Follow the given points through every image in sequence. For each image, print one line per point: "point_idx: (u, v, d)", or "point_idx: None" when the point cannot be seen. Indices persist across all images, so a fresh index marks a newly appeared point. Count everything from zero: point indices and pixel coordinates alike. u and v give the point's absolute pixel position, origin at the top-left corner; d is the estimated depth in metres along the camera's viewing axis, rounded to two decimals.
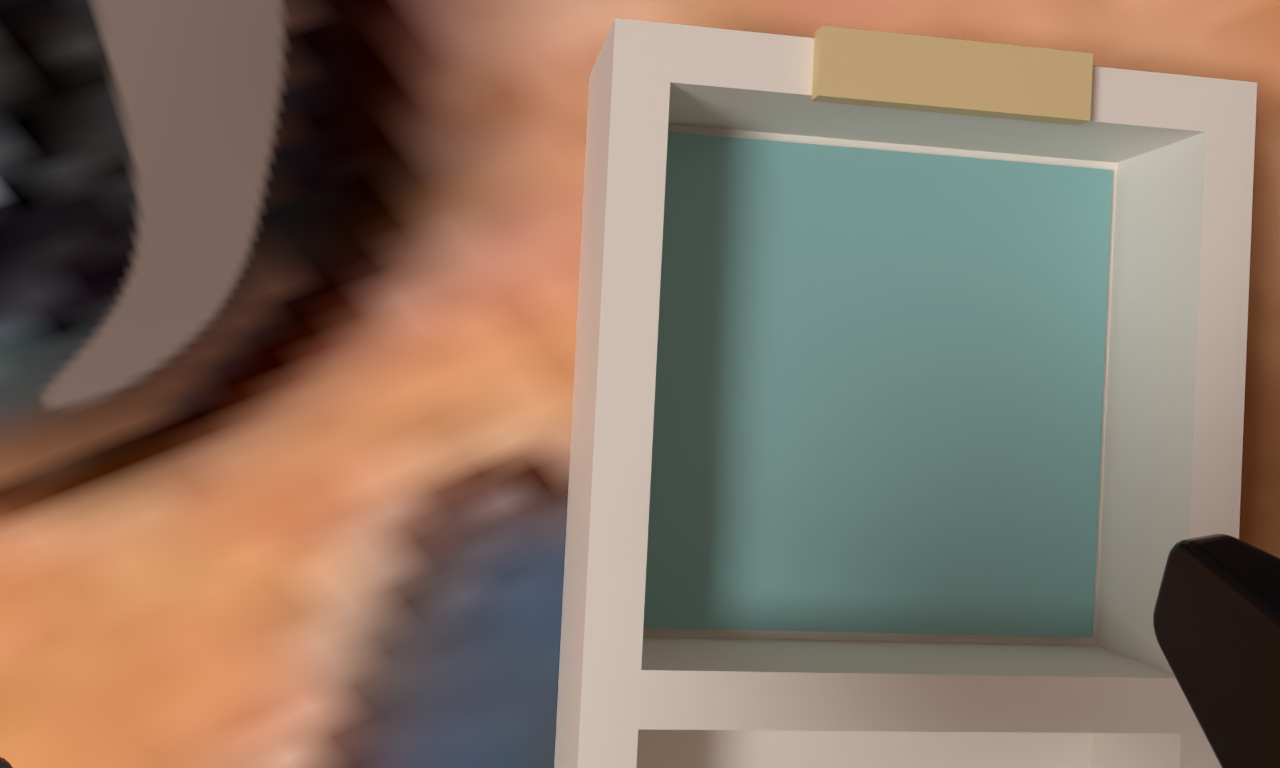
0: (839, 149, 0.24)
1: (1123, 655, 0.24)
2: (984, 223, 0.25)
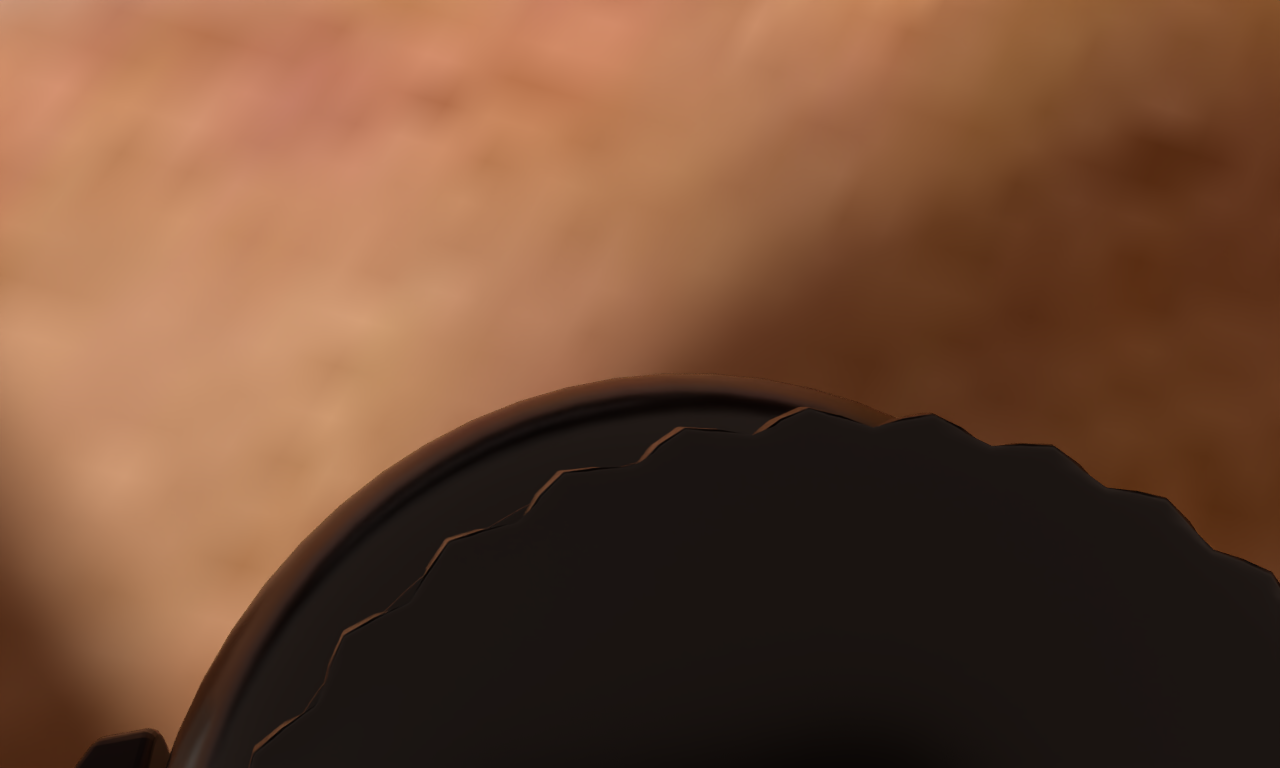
0: None
1: None
2: None
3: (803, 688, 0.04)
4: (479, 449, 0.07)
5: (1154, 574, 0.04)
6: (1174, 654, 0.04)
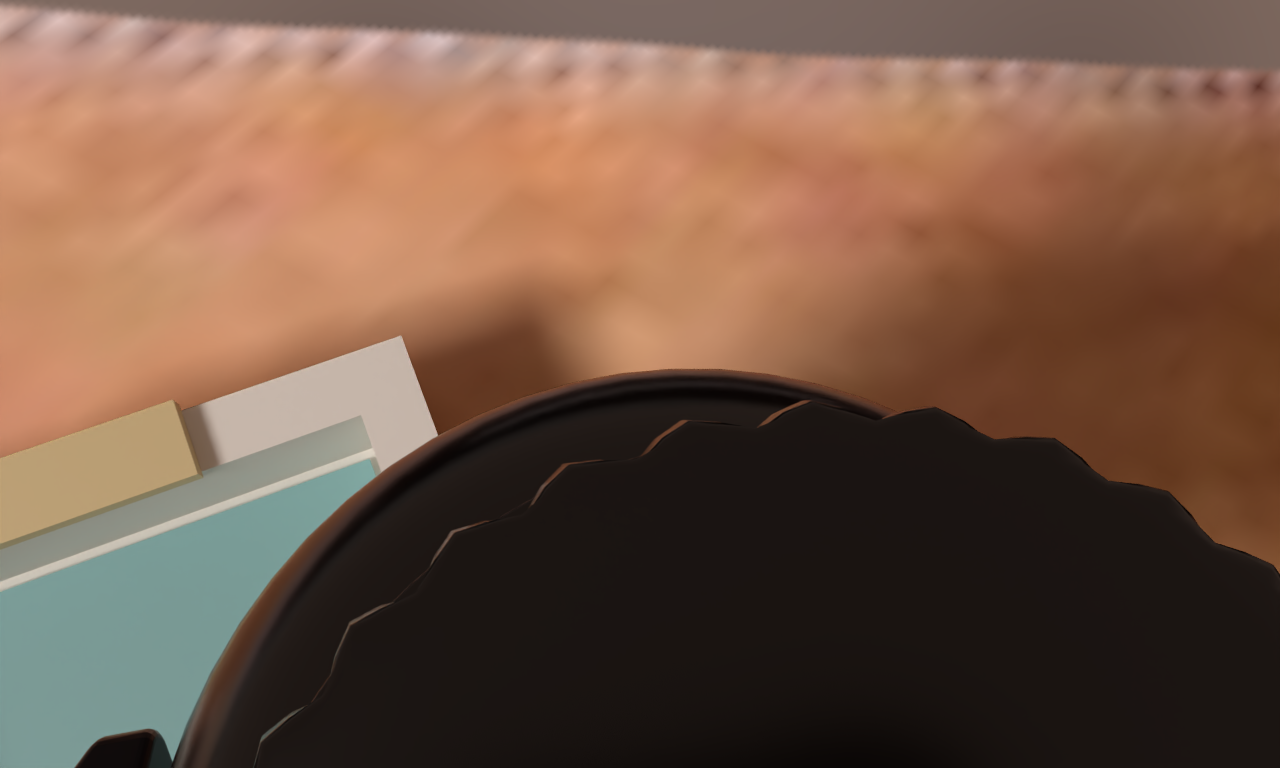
0: (36, 582, 0.20)
1: None
2: (240, 585, 0.21)
3: (806, 679, 0.04)
4: (487, 443, 0.07)
5: (1156, 566, 0.04)
6: (1176, 646, 0.04)
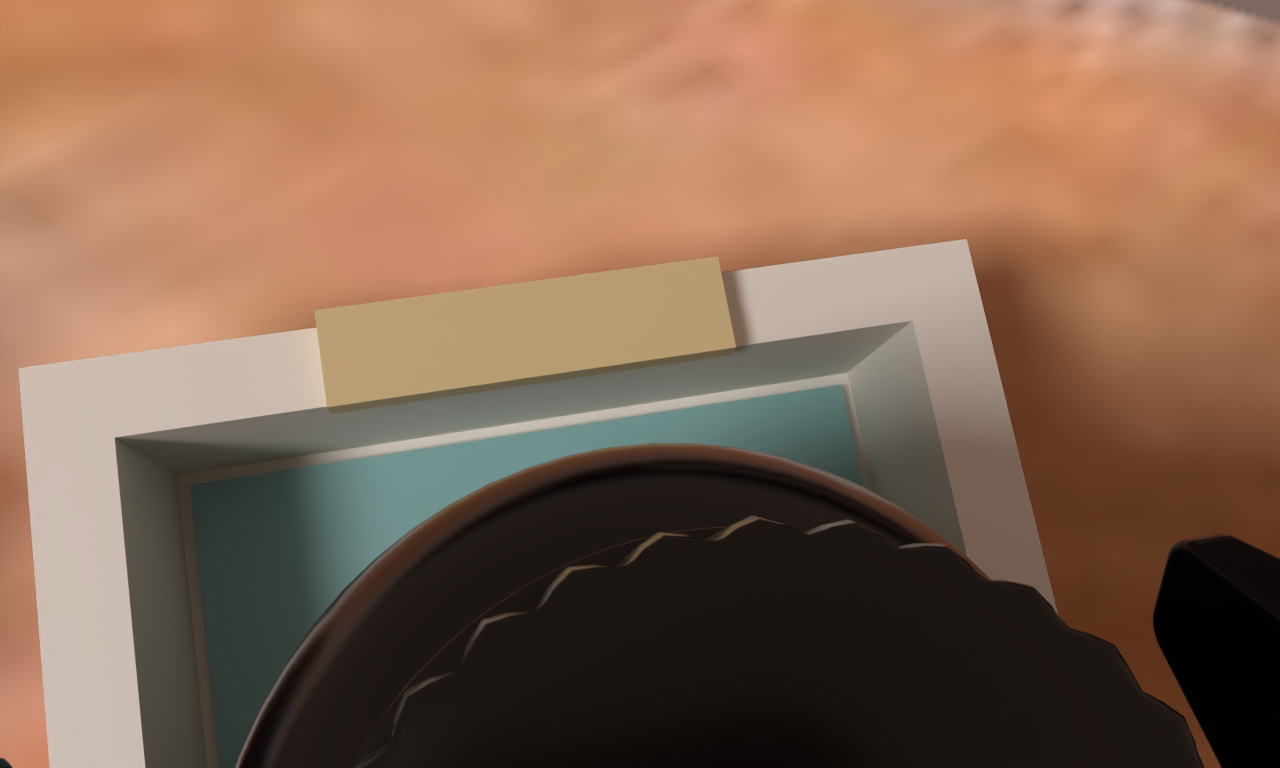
0: (459, 447, 0.18)
1: None
2: None
3: (753, 736, 0.05)
4: (497, 513, 0.09)
5: (1022, 647, 0.06)
6: (1036, 708, 0.06)
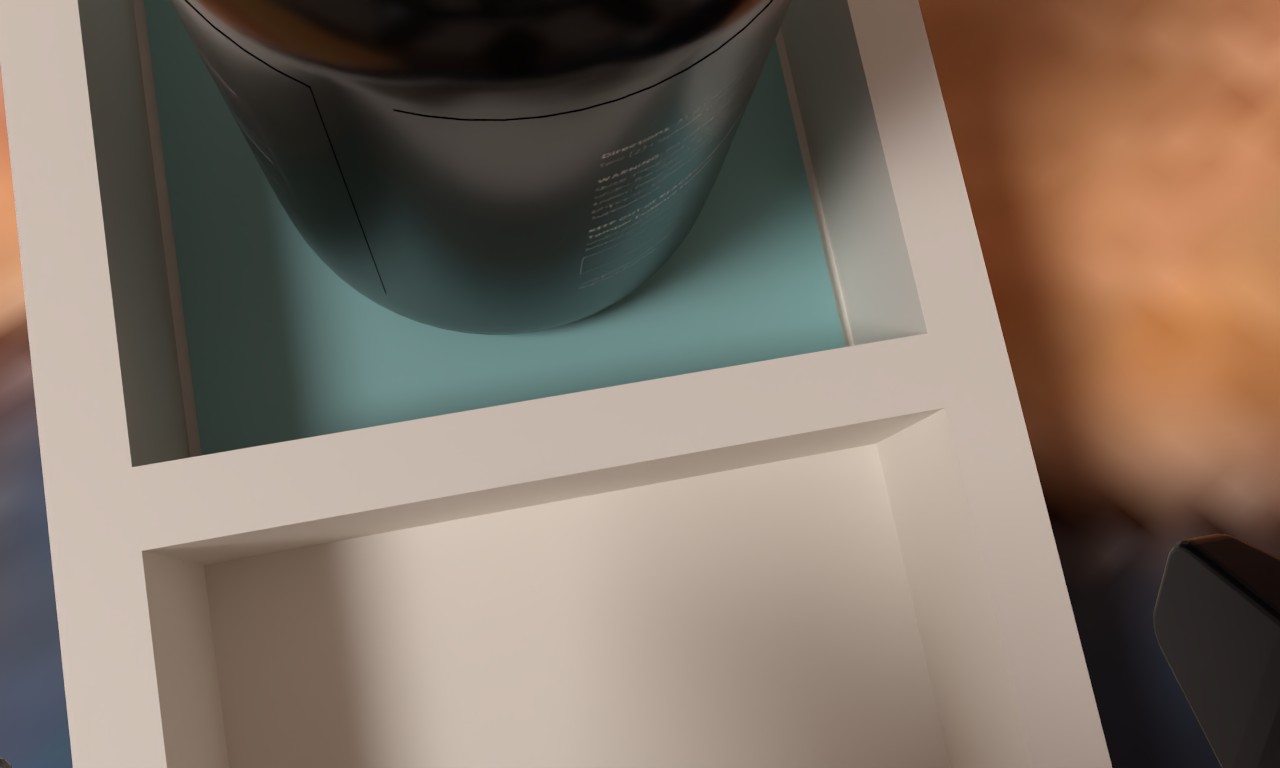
0: None
1: None
2: None
3: None
4: None
5: None
6: None
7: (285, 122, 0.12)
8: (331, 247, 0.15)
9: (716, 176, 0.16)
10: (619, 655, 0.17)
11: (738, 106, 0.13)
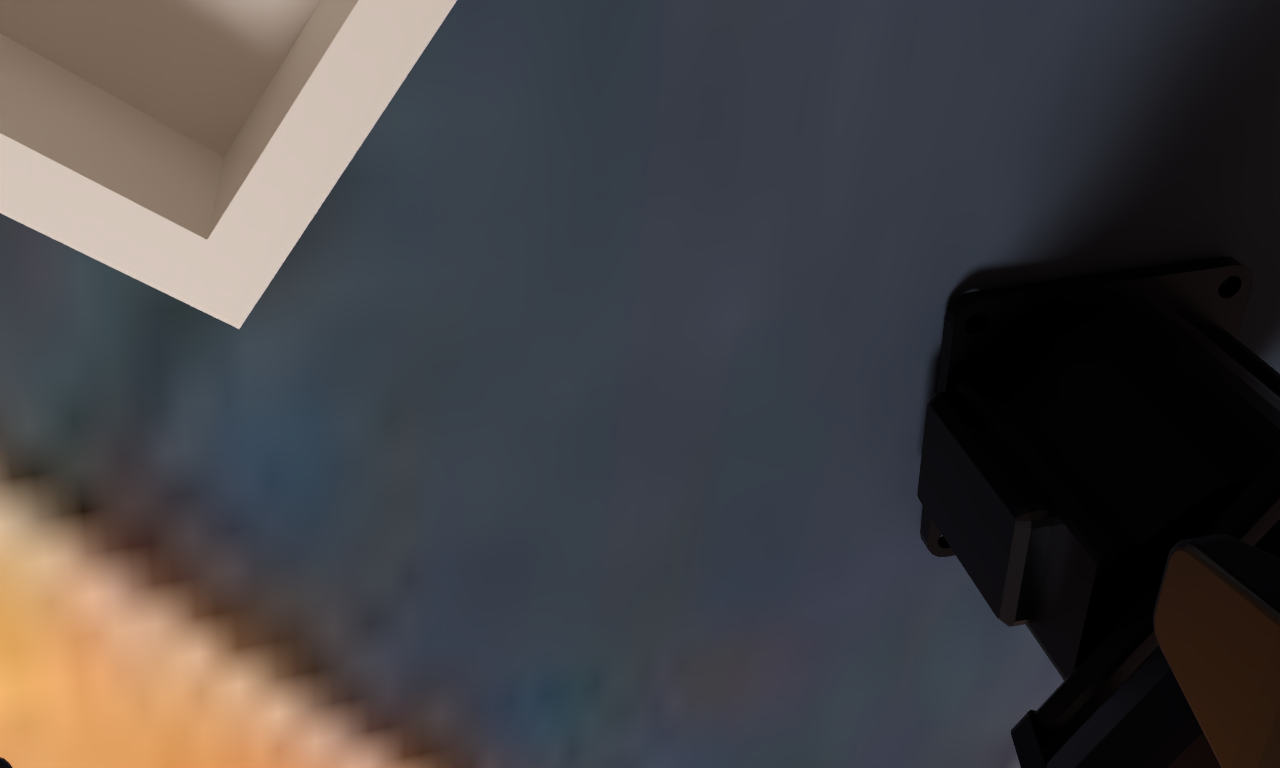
0: None
1: None
2: None
3: None
4: None
5: None
6: None
7: None
8: None
9: None
10: None
11: None
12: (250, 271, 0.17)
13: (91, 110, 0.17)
